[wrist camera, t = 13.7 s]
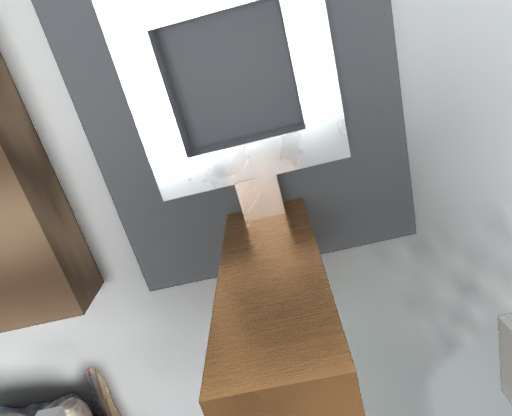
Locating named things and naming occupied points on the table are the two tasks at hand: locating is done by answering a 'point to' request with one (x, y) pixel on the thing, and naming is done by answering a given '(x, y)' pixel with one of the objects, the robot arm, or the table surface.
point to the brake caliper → (74, 401)
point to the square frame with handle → (251, 214)
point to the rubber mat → (242, 127)
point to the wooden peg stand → (36, 229)
